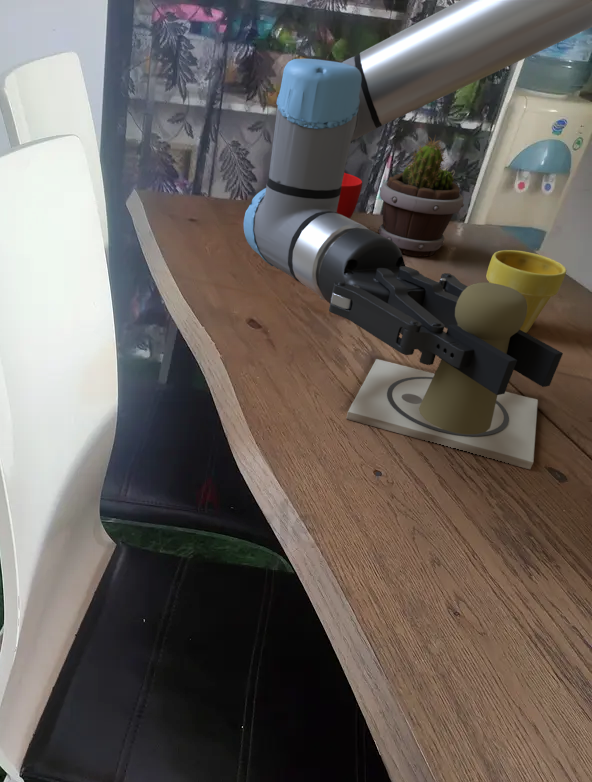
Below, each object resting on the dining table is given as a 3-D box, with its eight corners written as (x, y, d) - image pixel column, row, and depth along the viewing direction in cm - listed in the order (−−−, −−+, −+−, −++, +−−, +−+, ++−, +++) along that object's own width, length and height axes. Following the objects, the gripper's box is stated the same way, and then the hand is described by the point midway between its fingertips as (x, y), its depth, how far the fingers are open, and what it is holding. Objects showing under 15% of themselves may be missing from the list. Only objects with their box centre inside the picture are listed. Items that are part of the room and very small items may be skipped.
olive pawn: (479, 442, 59) (529, 310, 52) (408, 416, 61) (447, 287, 54) (499, 414, 63) (547, 289, 56) (432, 391, 65) (470, 268, 59)
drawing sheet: (535, 406, 90) (538, 398, 89) (530, 470, 77) (534, 460, 77) (374, 365, 94) (376, 357, 94) (346, 419, 82) (348, 410, 81)
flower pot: (547, 345, 106) (574, 278, 100) (475, 333, 107) (498, 266, 101) (534, 319, 114) (558, 256, 109) (467, 308, 115) (488, 245, 109)
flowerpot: (381, 231, 146) (408, 119, 134) (457, 249, 141) (491, 135, 129) (356, 247, 136) (382, 127, 124) (436, 268, 131) (471, 144, 119)
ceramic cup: (255, 229, 138) (263, 172, 132) (313, 219, 148) (323, 165, 142) (307, 250, 131) (317, 191, 125) (364, 237, 141) (376, 182, 135)
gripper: (408, 297, 76) (588, 403, 60) (266, 311, 69) (427, 435, 53) (428, 223, 72) (628, 315, 56) (278, 230, 65) (458, 337, 49)
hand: (529, 373), depth 54 cm, fingers closed on olive pawn, 4 cm apart
